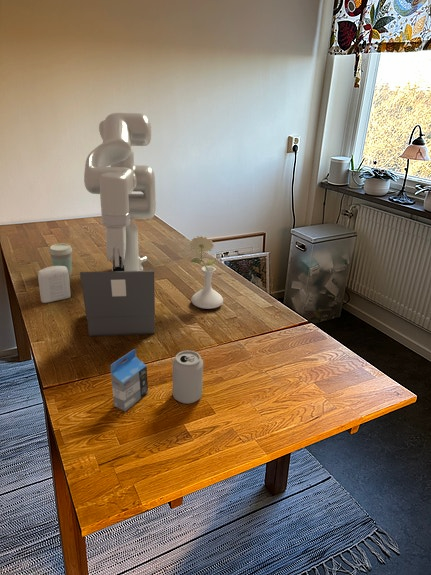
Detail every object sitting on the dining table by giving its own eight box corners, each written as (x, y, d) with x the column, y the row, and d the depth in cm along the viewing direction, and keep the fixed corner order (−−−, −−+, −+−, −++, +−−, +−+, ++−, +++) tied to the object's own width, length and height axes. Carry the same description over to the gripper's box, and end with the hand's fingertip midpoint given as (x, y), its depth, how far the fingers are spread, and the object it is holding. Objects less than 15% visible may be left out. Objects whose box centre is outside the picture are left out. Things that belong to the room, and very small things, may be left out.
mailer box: (94, 311, 153) (92, 293, 150) (153, 309, 156) (153, 291, 153) (88, 336, 139) (87, 316, 136) (154, 333, 142) (154, 314, 139)
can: (172, 387, 119) (172, 348, 113) (201, 386, 119) (202, 348, 114) (172, 406, 112) (172, 366, 107) (202, 405, 112) (204, 365, 107)
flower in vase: (228, 301, 164) (231, 235, 153) (214, 314, 155) (217, 245, 144) (196, 293, 169) (197, 229, 158) (181, 306, 159) (181, 238, 149)
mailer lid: (80, 271, 126) (79, 273, 125) (154, 270, 129) (154, 271, 128) (86, 316, 136) (86, 317, 136) (154, 314, 139) (154, 315, 138)
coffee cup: (79, 273, 181) (76, 244, 176) (66, 281, 174) (62, 252, 169) (61, 269, 184) (57, 241, 178) (47, 277, 176) (43, 248, 171)
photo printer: (68, 293, 165) (65, 262, 159) (72, 298, 162) (69, 266, 156) (39, 299, 160) (35, 267, 154) (43, 304, 156) (38, 271, 151)
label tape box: (125, 412, 109) (122, 370, 104) (112, 406, 111) (109, 364, 106) (148, 393, 116) (147, 352, 111) (136, 387, 118) (134, 347, 113)
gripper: (104, 211, 132) (108, 268, 140) (99, 227, 118) (104, 290, 126) (130, 211, 133) (132, 268, 141) (128, 227, 119) (131, 289, 127)
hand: (119, 278), depth 133 cm, fingers closed
